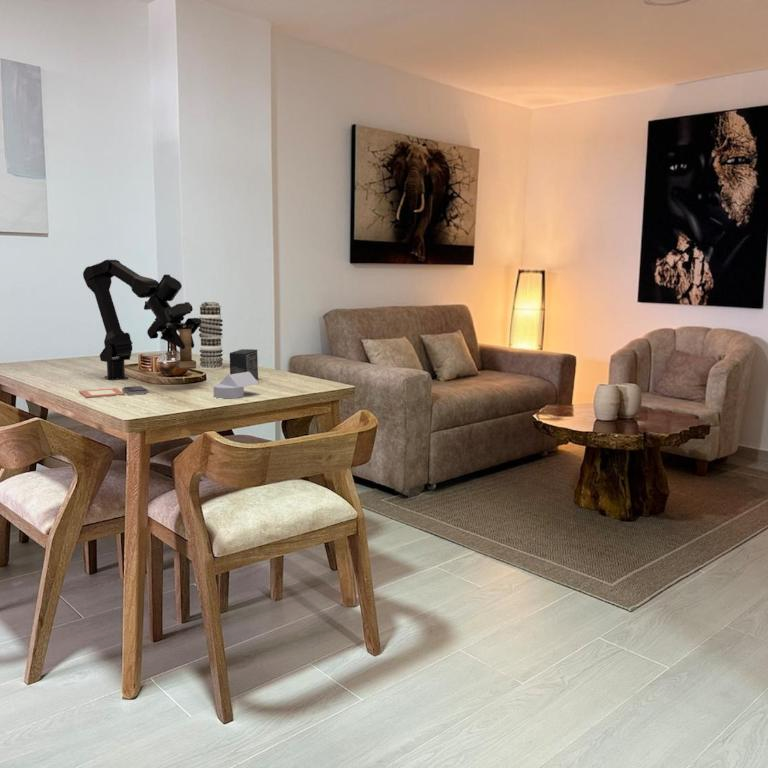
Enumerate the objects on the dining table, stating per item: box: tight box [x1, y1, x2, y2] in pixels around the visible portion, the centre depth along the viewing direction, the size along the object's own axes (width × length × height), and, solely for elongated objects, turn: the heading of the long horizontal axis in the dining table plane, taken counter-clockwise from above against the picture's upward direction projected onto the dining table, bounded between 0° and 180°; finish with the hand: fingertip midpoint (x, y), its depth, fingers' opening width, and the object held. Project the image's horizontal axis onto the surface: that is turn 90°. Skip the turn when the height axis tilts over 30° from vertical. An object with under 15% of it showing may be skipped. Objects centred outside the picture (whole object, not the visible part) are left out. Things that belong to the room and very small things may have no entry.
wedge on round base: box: [213, 372, 260, 400], centre depth 223 cm, size 9×7×13 cm
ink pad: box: [122, 385, 150, 396], centre depth 225 cm, size 8×6×1 cm
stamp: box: [175, 329, 197, 370], centre depth 232 cm, size 5×5×12 cm
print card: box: [78, 387, 126, 399], centre depth 222 cm, size 11×11×1 cm
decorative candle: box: [198, 301, 224, 371], centre depth 276 cm, size 9×9×25 cm
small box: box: [229, 348, 259, 380], centre depth 250 cm, size 11×6×10 cm, turn 168°
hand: (188, 347), depth 231 cm, fingers closed on stamp, 4 cm apart
